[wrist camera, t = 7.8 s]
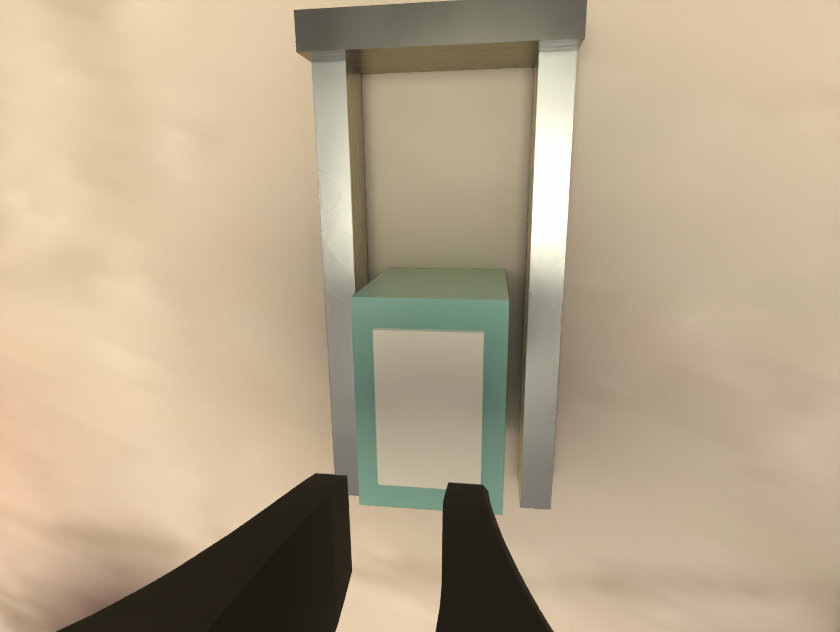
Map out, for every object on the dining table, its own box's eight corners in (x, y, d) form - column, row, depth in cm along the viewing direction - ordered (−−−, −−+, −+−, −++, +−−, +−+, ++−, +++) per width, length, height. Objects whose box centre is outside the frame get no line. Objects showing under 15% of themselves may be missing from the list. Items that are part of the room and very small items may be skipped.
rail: (545, 479, 19) (554, 532, 16) (349, 467, 20) (325, 514, 17) (569, 28, 15) (587, -8, 13) (328, 40, 16) (293, 9, 14)
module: (500, 431, 19) (502, 519, 14) (392, 425, 19) (357, 508, 14) (504, 268, 18) (509, 301, 12) (388, 267, 18) (348, 298, 13)
